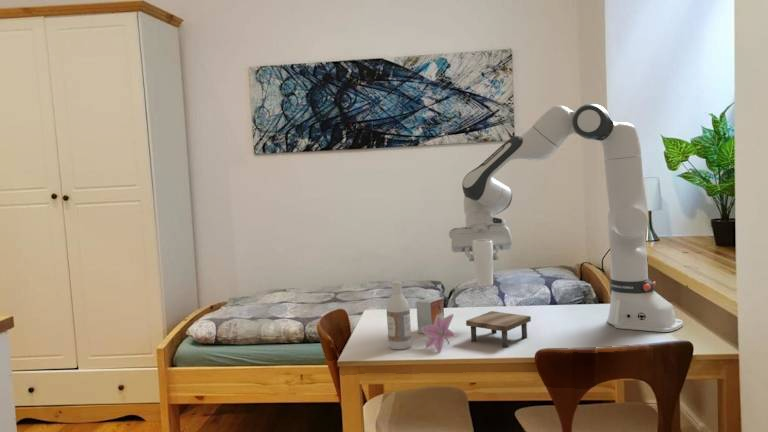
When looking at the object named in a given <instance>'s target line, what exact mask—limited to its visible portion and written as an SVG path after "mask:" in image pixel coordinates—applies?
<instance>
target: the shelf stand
mask: <svg viewBox="0 0 768 432" xmlns="http://www.w3.org/2000/svg"><path fill="white" fill-rule="evenodd" d="M531 318H532V317H531V315H524V314H517V313H516V314H515V313H508V312H499V311H493V310H491V311H488V312H486V313H483V314H480V315H478V316H475V317H473V318H470V319H467V320H466V321H465V322H466V323H465V324H466V327H470V337H471V338H470V340H471V342H472V343H476V342H478V341H477V339H478V338H477V328H479V329H480V328H481V329H486V330H490V331H491V334H497V333H498V332H497V331H499V332H501V347H502V348H508V346H509V343H508V331H511V330H514V329H515V328H518V327H520V326H521V329H520V330H521V338H522V339H528V324H527V323H530V322H531V321H532V319H531Z"/></svg>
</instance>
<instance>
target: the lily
mask: <svg viewBox="0 0 768 432" xmlns="http://www.w3.org/2000/svg"><path fill="white" fill-rule="evenodd" d="M453 318H454V313H453V314H452V313H451V314H449V315H447V316H445V317H444V319H443V320H441V318H440V316H439V315H437V316H436V319H435V323H434V325H427V326H424V327H422V328H421V330H422V332H423V333H424V335H425V336H426V337H428V339H427V341H426V343H425V346H424V347H425V349H428V348H430V347H431V346H434V349H435V350H436V352H437V353H439V354H440V353H441V352H442V348H443V344H444V341H445V340H446V341H447V343H448V345H451V343H450V342H449V339H452V338H454V337H456V334H455V333H454V332H453V331H452V330H450V328H449V327H450V325H451V323H452V320H453ZM423 333H422V334H423Z"/></svg>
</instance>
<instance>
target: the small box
mask: <svg viewBox="0 0 768 432" xmlns="http://www.w3.org/2000/svg"><path fill="white" fill-rule="evenodd" d="M415 303H416V316H417V317H416V318H417V320H416V321H417V333H418V334H424V333H423V332H422V330H421V328H422V327H424V326H427V325H434V323H435V319H436V316H437V315H439V316H440V318H441V320H443V319H444V318H445V309H444V308H445V307H444V298H443V297H434V296H429V297H427V298H424V299H421V300H417V301H416V302H415ZM424 335H425V334H424Z"/></svg>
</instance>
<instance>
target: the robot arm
mask: <svg viewBox="0 0 768 432" xmlns="http://www.w3.org/2000/svg"><path fill="white" fill-rule="evenodd" d="M572 135H578V136H580V137H581V138H583V139H586V140H595V141H598V142H599V141H600V143H601V146H602V149H603V159H604V171H605V172H604V173H605V184H606V190H607V197H608V206H609V211H608V213H607V214H608V215H607V220H608V237H609V252H610V253H609V254H610V278H609V293H610V305H609V312H608V315H607V318H606V322H607V323H608V324H610V325H613V326H614V328H616V329H620V330H621V329H623V330H632V331H633V330H635V331H636V330H637V331H645V332H646V331H649V332H659V333H669V332H674V331H676V330H679V329H681V328H682V327H683V326H684V321H683V320H682V319H679V318H676V314H675V310H674V306H673V304H672V303H671V302H669V301H668V300H666V298H664V297H663V296H662V295H660V294H659V293H658V292H656V291H655V286H656V281H652V280H651V279H650V278H649V275H648V274H649V272H648V271H649V270H648V250H647V241H646V230H647V229H648V226H649V222H650V221H649V219H650V218H649V211H648V203H647V196H646V188H645V184H644V175H643V171H644V170H643V161H642V160H643V159H642V150H641V142H640V138H639V134H638V131H637V128H636V127H635V125H634V124H632V123H629V122H624V121H619V122H618V121H617V122H616V121H613V119H612V118H611V116H610V113H609V112H608V110H607V109H606V108H605V107H604V106H602V105H600V104H597V103H587V104H583V105H581V106H580V107H578V108H577V109H576V111H575V110H572V109H570V108H569V107H567V106H565V105H562V104H561V105H560V104H556V105H553V106H552V107H550V108H549V109H548V110H547V111H545V112H544V113H543V114H542V115H541V116H540V117H539V118H538V119H537V120H536V122H535V123H533V125H531V127H530V128H528V130H527V131H525V132H523V133H522V134H520V135H517V136H513V137H512V136H511V137H510V138H509V139H508V140H506V141H505V142H504V143H502V145H500V146H499V148H497V149H496V150H495V151H494V152H493V153H491V155H490V156H488V157H487V158H486V159H485V160H484V161H483V162H482V163H481V164H479V165H478V166H477V167H475V168H474V169H472V170H470V171H469V172H468V173H467V174H466V175H465V176H464V177H463V180H462V185H461V186H462V191H463V194H464V196H463V208H464V209H463V211H464V215H465V216H466V217H465V226H464V227H453V228H452V229H450V230H449V232H448V235H449V238H450V239H451V240H450V241H451V242H450V243H451V246H450V247H451V251H452V252H453V253H464V255H465V256H466V257H467V258H468V262H474V257H473V253H472V241H473V240H477V239H491V240H492V242H493V251H495V252H493V261H498V260H499V255H500V253H501V251H507V250H510V249H512V247H513V237H512V234H511V233H512V232H511V231H510V229H509V227H507V225H506V224H507V223H506V219H504V218H500V217H495V215H498V214H500V213H501V212H504V211H505V210H507V209H508V208H509V207H510V205H511V203H512V201H513V200H512V199H513V191H512V189H511V187H509V186H508V185H506V184H504V183H503V182H502V181H500V180H497V179H496V178H495V177H494V175H496V173H498V172H499V171H500V170H501V169H502V168H503V167H505V166H506V165H507V164H508V163H510V162H511V161H514V160H529V161H534V162H535V161H537V162H538V161H545V160H546V159H549V158H550V157H551V156H552V155H553V154H554V153H556V152H557V150H558V149H559V148H560V146H561V145H562V144H563V143H564V142H565V141H566V140H567V139H568V138H569V137H570V136H572ZM477 242H486V241H485V240H478V241H477ZM470 252H471V253H470Z"/></svg>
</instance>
